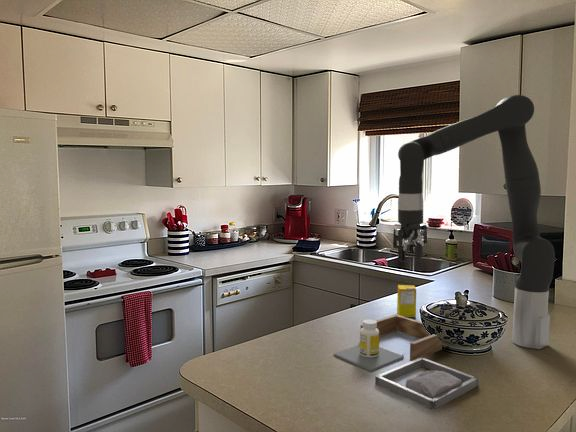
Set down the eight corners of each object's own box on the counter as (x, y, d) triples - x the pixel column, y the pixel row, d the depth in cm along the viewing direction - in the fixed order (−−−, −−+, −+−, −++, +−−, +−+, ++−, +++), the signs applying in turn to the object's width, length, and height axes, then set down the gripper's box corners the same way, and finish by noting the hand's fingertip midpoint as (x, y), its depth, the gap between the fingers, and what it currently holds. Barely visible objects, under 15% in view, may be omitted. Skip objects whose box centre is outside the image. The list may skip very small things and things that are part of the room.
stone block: (402, 398, 122) (436, 406, 114) (399, 378, 122) (433, 385, 114) (431, 386, 129) (465, 393, 121) (429, 367, 129) (463, 373, 121)
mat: (403, 358, 141) (403, 356, 141) (370, 371, 132) (370, 369, 132) (366, 343, 151) (366, 342, 151) (333, 355, 143) (333, 353, 143)
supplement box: (413, 314, 180) (414, 284, 179) (415, 319, 175) (416, 289, 173) (396, 313, 181) (397, 284, 180) (398, 318, 175) (399, 288, 174)
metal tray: (477, 385, 124) (478, 378, 123) (432, 410, 112) (433, 401, 112) (421, 364, 137) (421, 357, 137) (375, 383, 125) (375, 376, 125)
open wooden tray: (448, 346, 149) (449, 330, 149) (413, 361, 139) (413, 344, 138) (395, 328, 165) (396, 314, 164) (360, 340, 154) (360, 325, 153)
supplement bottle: (380, 352, 143) (380, 319, 142) (377, 359, 138) (377, 325, 137) (361, 350, 145) (362, 317, 144) (358, 357, 140) (358, 323, 139)
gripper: (406, 210, 144) (406, 265, 146) (434, 206, 153) (434, 258, 155) (386, 209, 150) (386, 261, 152) (414, 205, 159) (414, 255, 161)
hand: (410, 259), depth 153 cm, fingers open, 8 cm apart
